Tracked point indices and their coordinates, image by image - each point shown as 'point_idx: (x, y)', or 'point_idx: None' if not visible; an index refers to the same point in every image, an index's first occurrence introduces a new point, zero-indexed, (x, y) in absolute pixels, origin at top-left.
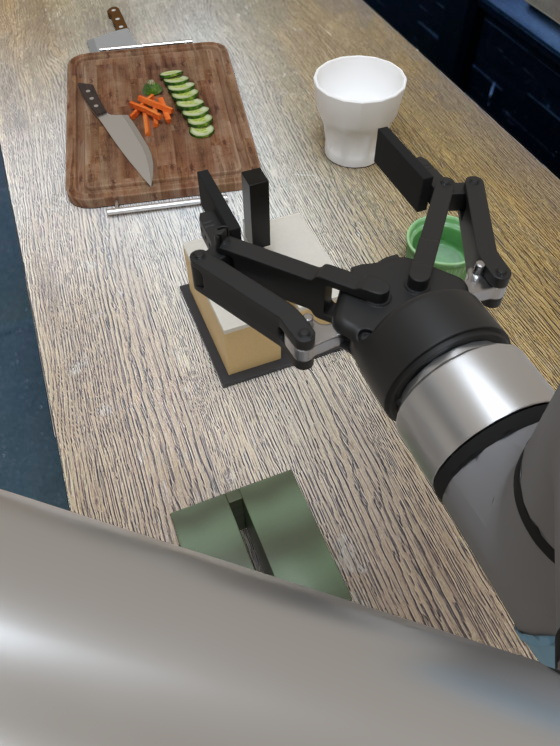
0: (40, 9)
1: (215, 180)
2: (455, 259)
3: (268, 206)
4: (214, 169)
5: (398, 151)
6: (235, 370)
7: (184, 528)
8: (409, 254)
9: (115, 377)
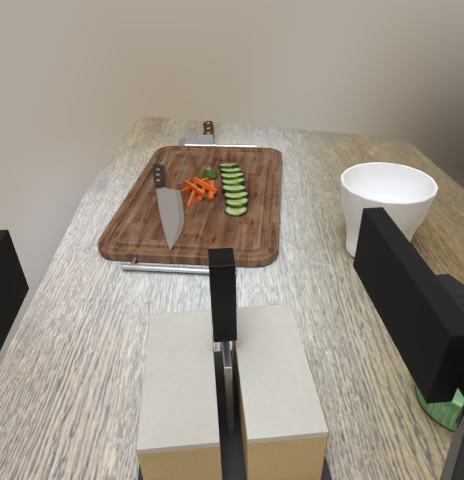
0: (160, 119)
1: None
2: None
3: (234, 295)
4: (233, 244)
5: (395, 255)
6: None
7: None
8: None
9: (25, 459)
